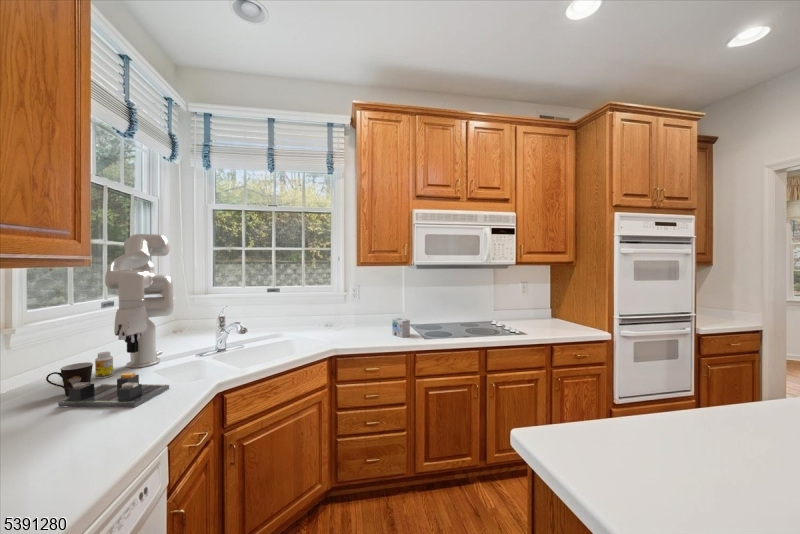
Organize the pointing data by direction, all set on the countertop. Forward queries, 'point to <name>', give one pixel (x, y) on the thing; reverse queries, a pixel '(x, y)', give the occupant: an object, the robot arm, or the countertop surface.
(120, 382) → the block
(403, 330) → the light bulb box
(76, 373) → the coffee mug
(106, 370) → the supplement bottle
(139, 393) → the panel
